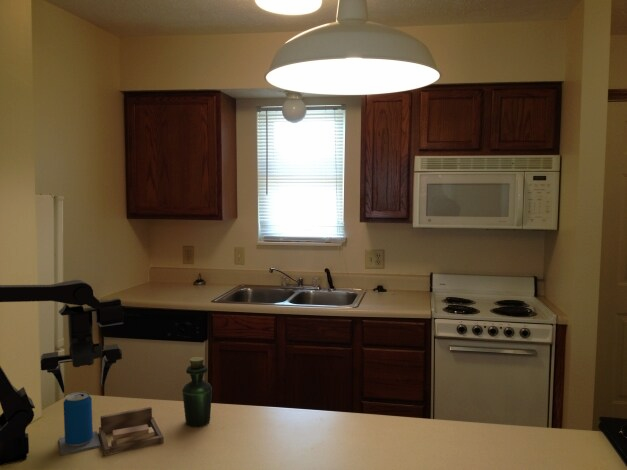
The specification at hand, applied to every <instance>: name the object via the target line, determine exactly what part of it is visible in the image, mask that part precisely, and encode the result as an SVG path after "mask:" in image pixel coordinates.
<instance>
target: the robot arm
mask: <svg viewBox="0 0 627 470" xmlns="http://www.w3.org/2000/svg"><path fill="white" fill-rule="evenodd" d="M18 302H19V303H21V302H22V303H24V302H27V303H28V302H57V303H62V304H64V305H63V307H62V308H60V309H59V310H58V313H59V315H60V316H67V325H68V326H67V327H68V328H67V329H68V330H67V331H68V349H69V350H68V353H69V354H61V355H59V352H58V351H54V352H47V353H42V355H41V356H40V371H46V372H47V373H49V374H52V375H54V377H55V379H56V380H57V383H58V385H59V388H60V389H61V392H62V394H65V383H64V382H65V381H64V378H63V374H62V373H63V372H62V368H61V367H62V366H61V364H64V363H72V367H73V368H80V367H82V366H84V367H85V366H92V365H94V364H95V360H96V359H97V360H98V359H100V358H101V359H102V363H101V364H102V365H101V380H100V381H101V387H104V386H105V383H106V381H107V377H108V373H109V370H110V368H111V367H112V365H113V364H116V363H117V361H120V360H122V359H123V353H122V349H121V346H120V345H119V344H117V343H115V344H106V345H103V346H102V342H97V343H94V325H93V323H94V324H98V326H99V327H100V328H103V327H109V326H115V325H123V324H124V323H125V312H124V309H123V305H122V300H121V299H120V298H119V297H118V298H117V297H116V298H113V299H108V300H107V299H106V300H100V299H98V298H97V297H95V296H94V289H93V287H92V285H90V284H88V283H87V282H86V281H84V280H81V279H72V280H67V281H61V282H58V283H54V284H52V283H51V284H0V303H18ZM69 305H74V306H69ZM85 305H86V306H88V307H84V306H85ZM0 406H1V410H2V413H0V466H1V465H7V464H12V463H16V462H22V461H25V460H27V457H28V455H29V453H30V445H29V444H30V441H29V439H30V438H29V437H30V436H29V433H28V432H26V429H27V427H28V426H30V424H31V423H32V422H33V420H34V419H35V418H34V417H35V412H34V409H36V406H35V404H34V401H33V399H32V397H30V396H29V395H28V393H27V391H26V389H25V387H24V386H23V387H21V388H20V389H17V388H16V387H15V386H14V385H13V384H12V382H11V380H10V378H8V376H7V374H6V372H5V370H4V369H3V368H2V366H1V365H0Z"/></svg>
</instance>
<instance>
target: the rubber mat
mask: <svg viewBox="0 0 627 470" xmlns="http://www.w3.org/2000/svg"><path fill="white" fill-rule="evenodd" d="M58 441H59V451H60V456H64V455H68V454H74V453H78V452H79V453H80V452H83V451H87V450H93V449H98V448H101V446H102V445H101V442H100V441H101V440H100V437H99V433H98V431H97V430H93V438H92V439H91V440H90V441H89V442H88V443H86V444H84V445H81V446H70V445H69V444H66V443H65V436H63V437H59V438H58Z"/></svg>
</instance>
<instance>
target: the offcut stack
mask: <svg viewBox="0 0 627 470" xmlns="http://www.w3.org/2000/svg"><path fill="white" fill-rule="evenodd" d="M151 437H156V435H155V433H154V430H153V429H152V427H151V426H150V427H149V425H141V426H135V427H129V428H124V429H118V430H113V432H112V439H111V440H110V446H114V445H118V444H123V443H128V442H132V441H137V440H142V439H146V438H151Z"/></svg>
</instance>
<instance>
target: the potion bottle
mask: <svg viewBox="0 0 627 470" xmlns="http://www.w3.org/2000/svg"><path fill="white" fill-rule="evenodd" d="M204 360H205V358H204V357H202V356H193V357H191V358H189V362H190V365H189V366H187V368H186V369H185V370H186V374H188V375H189V376H190V378H191V381H190V382H188V383H186V384H184V387H183V388H182V390H181V392H182V393H181V394H182V400H183V401H182V402H183V411H184V417H185V423H186V425H187V426H189V427H192V428H200V427H204V426H206V425H207V424H209V423H210V421H211V412H212V411H211V408H212V398H213V397H212V396H213V387H212V385H211V383H210V382H207V381H205V380H203V378H204V376H205V375H204V374H205V373H207V372H208V370H209V369H208V367H207V365H206V364H204Z"/></svg>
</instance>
